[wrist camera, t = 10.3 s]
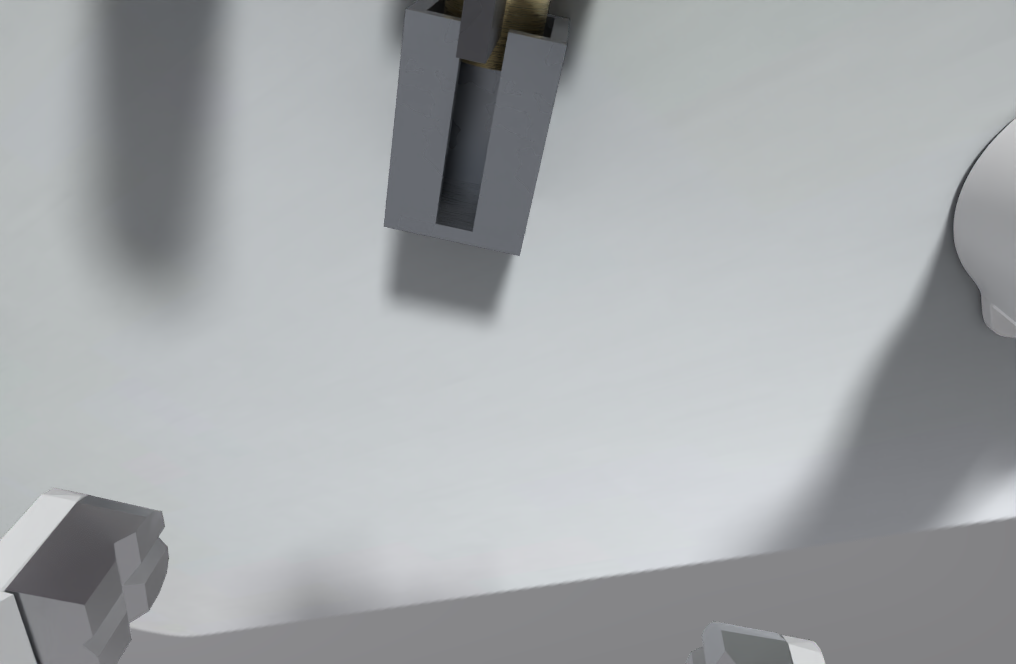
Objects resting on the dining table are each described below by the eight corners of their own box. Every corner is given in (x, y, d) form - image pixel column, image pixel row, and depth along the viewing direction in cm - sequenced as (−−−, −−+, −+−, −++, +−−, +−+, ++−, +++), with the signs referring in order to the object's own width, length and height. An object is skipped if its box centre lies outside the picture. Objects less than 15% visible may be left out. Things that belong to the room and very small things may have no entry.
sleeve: (569, 19, 37) (567, 45, 31) (528, 202, 43) (519, 255, 37) (435, -12, 37) (405, 8, 31) (412, 177, 43) (383, 226, 37)
